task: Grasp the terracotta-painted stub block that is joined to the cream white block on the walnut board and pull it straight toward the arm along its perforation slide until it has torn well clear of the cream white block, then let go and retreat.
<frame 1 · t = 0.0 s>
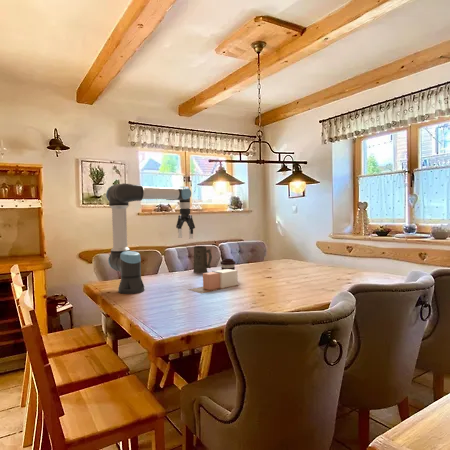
hand: (185, 238, 254), 28 cm above the table, fingers open, 13 cm apart
coffee cup: (228, 282, 236), on the table
stub: (211, 280, 214), point 5 cm above the table, slide at 0.0 cm
board: (214, 288, 215), on the table
cream white block: (225, 285, 221), resting on board
beer stein: (203, 272, 276), on the table
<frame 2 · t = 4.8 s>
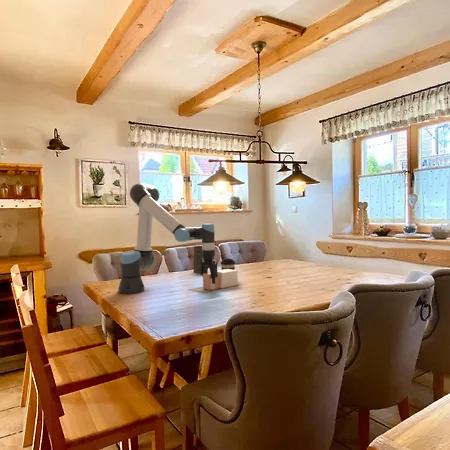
hand: (209, 288, 213), 1 cm above the table, fingers closed on stub, 6 cm apart
stub: (211, 280, 214), point 5 cm above the table, slide at 0.0 cm, touching gripper
everything else where it was.
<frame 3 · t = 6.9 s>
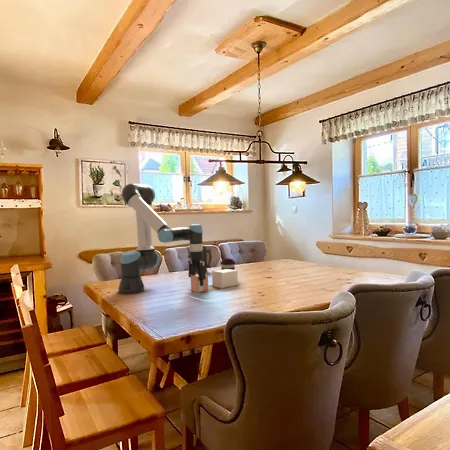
hand: (197, 290, 207), 1 cm above the table, fingers closed on stub, 6 cm apart
stub: (199, 282, 208), point 5 cm above the table, slide at 8.9 cm, touching gripper
everything else where it was.
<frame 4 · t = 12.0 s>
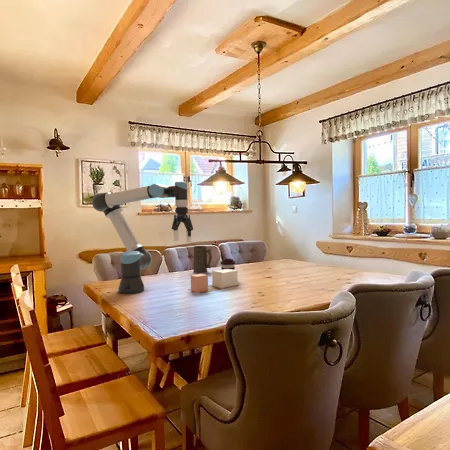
hand: (182, 241, 220), 29 cm above the table, fingers open, 13 cm apart
stub: (199, 282, 208), point 5 cm above the table, slide at 8.9 cm
everything else where it was.
at the end: stub slide at 8.9 cm; the gripper is holding nothing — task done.
